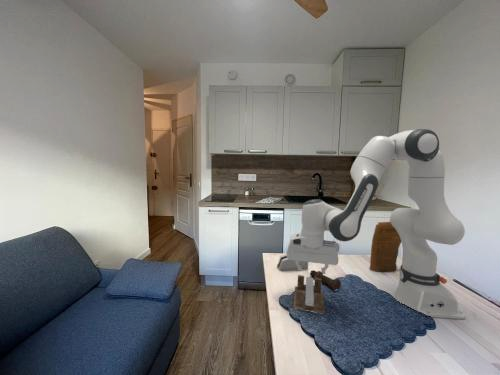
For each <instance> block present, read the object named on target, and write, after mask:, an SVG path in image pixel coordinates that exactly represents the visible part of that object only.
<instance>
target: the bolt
mask: <svg viewBox="0 0 500 375" xmlns="http://www.w3.org/2000/svg"><path fill="white" fill-rule="evenodd" d="M309 275H310V277H311V278H313V279H315V278H321V280H322V281H321V283H324V284H325V285H328V286H329V287H330V288H331V290H332V289H333V290H336V289H339V288H341V286H342V285H341V284H342V283H341V280H340V279H339V278H333V279H332V278H330V277H328V276H327V275H325V274H322V273H321V271H320V270H318V271H316V270H310V272H309ZM333 290H332V291H333ZM339 290H340V289H339Z"/></svg>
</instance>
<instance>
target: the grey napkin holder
mask: <svg viewBox="0 0 500 375" xmlns="http://www.w3.org/2000/svg"><path fill="white" fill-rule="evenodd" d="M299 265H302V267H301V270H305V269H307V270H308V269H309V262H303V261H299ZM276 267H277V268H278V271H291V269H294V270H298V267H297V265H296V263H295V260H288V258H287V253H286V254H283V255H280V257H279V260H278V263H276Z"/></svg>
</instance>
